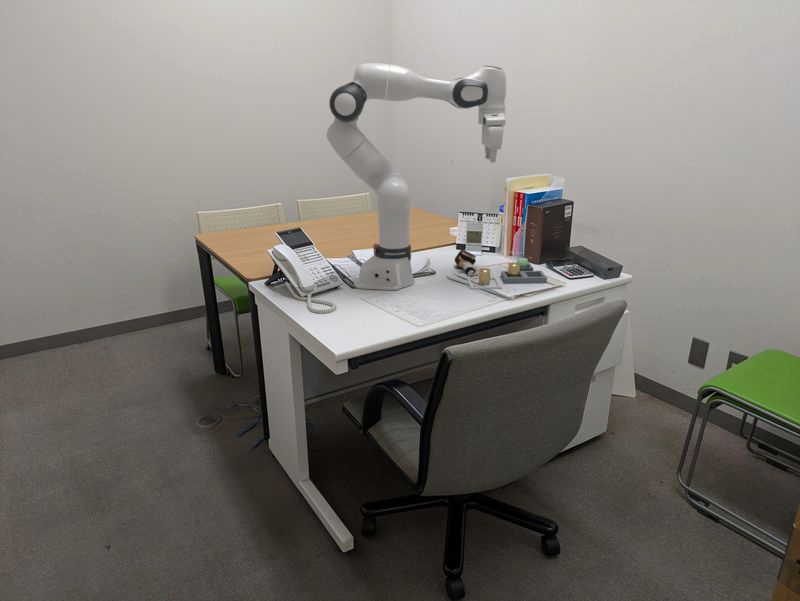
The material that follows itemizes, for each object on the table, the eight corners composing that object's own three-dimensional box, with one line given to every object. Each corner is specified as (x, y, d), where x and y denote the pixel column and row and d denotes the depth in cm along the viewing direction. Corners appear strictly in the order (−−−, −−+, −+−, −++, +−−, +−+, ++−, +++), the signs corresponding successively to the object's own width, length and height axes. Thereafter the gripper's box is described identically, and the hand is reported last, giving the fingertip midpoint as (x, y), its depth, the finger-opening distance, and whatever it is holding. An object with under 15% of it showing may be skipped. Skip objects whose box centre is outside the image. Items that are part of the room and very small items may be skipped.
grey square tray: (470, 292, 192) (470, 287, 191) (466, 282, 202) (467, 277, 201) (502, 292, 192) (502, 287, 191) (496, 281, 202) (496, 277, 201)
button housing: (513, 278, 205) (514, 268, 203) (510, 272, 211) (510, 262, 210) (532, 278, 205) (533, 268, 203) (528, 272, 211) (529, 262, 210)
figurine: (468, 265, 201) (458, 245, 213) (455, 282, 205) (447, 261, 217) (487, 274, 205) (477, 254, 217) (475, 290, 208) (465, 270, 220)
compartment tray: (503, 287, 197) (504, 278, 195) (499, 278, 205) (499, 270, 204) (548, 286, 197) (548, 277, 195) (541, 278, 205) (542, 270, 204)
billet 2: (508, 281, 198) (509, 265, 196) (506, 278, 202) (507, 262, 200) (519, 281, 198) (520, 265, 196) (517, 277, 202) (518, 262, 200)
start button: (517, 271, 205) (518, 260, 204) (515, 267, 209) (515, 257, 208) (528, 270, 205) (528, 260, 204) (525, 267, 209) (526, 257, 208)
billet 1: (479, 287, 195) (479, 271, 193) (477, 283, 199) (478, 268, 196) (490, 287, 195) (491, 271, 193) (488, 283, 199) (489, 268, 196)
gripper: (477, 117, 193) (477, 157, 198) (486, 120, 174) (485, 164, 179) (495, 116, 193) (494, 156, 198) (506, 119, 174) (505, 164, 179)
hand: (490, 160), depth 188 cm, fingers open, 8 cm apart
